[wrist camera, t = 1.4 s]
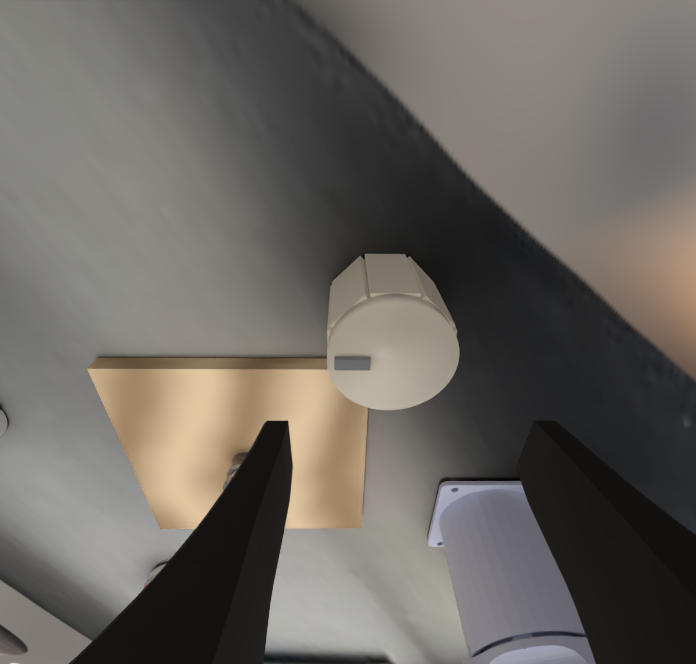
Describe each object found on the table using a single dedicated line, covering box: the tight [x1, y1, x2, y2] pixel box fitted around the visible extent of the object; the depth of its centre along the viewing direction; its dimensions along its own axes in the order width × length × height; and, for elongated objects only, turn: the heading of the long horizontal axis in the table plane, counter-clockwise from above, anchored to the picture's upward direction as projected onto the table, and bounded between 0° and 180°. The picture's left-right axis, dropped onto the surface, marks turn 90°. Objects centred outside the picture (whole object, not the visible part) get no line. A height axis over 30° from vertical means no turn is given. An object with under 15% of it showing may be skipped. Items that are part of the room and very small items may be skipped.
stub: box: [223, 453, 247, 491], centre depth 22 cm, size 2×2×4 cm
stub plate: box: [88, 358, 368, 529], centre depth 24 cm, size 15×15×1 cm
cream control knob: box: [327, 254, 459, 410], centre depth 17 cm, size 5×5×5 cm
